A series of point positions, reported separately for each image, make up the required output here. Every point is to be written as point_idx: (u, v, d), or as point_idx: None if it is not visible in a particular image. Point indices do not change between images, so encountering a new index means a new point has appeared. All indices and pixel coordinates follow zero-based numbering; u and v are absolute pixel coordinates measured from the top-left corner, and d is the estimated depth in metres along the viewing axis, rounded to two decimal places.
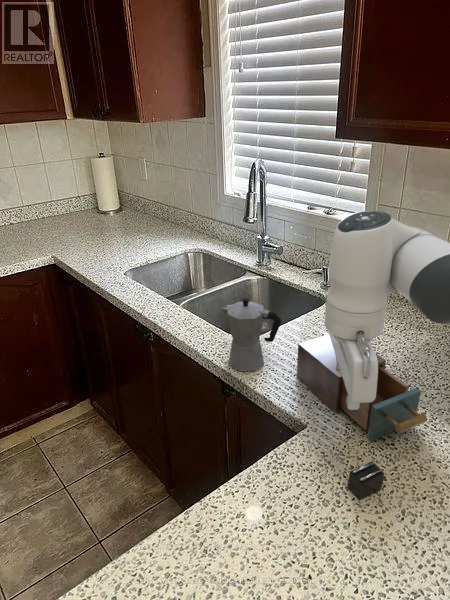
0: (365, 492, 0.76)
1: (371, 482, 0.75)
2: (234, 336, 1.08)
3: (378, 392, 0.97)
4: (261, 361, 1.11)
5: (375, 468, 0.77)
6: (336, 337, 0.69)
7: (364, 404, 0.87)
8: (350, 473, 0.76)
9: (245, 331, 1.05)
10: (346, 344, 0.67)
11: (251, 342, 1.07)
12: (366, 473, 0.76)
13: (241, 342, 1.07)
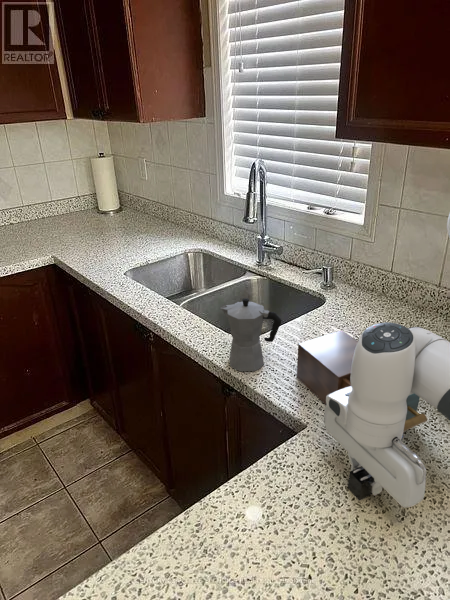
0: (366, 492, 0.76)
1: None
2: (234, 336, 1.08)
3: None
4: (261, 361, 1.11)
5: None
6: (365, 445, 0.70)
7: None
8: (350, 473, 0.76)
9: (245, 331, 1.05)
10: (383, 452, 0.68)
11: (251, 342, 1.07)
12: (366, 473, 0.76)
13: (241, 342, 1.07)
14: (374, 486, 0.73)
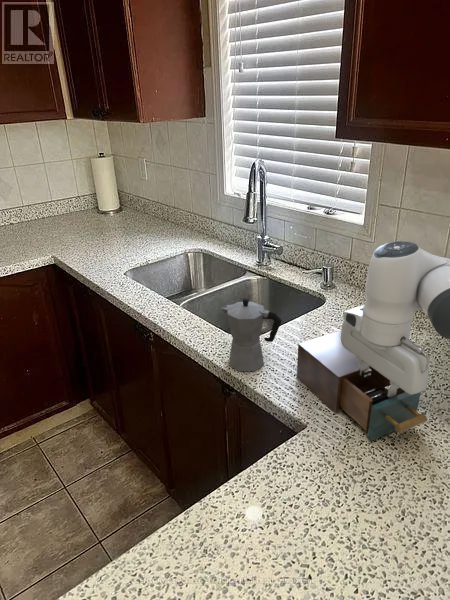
0: None
1: (379, 401, 0.90)
2: (234, 336, 1.08)
3: None
4: (261, 361, 1.11)
5: (382, 391, 0.92)
6: (378, 346, 0.83)
7: (364, 404, 0.87)
8: None
9: (245, 331, 1.05)
10: (392, 350, 0.81)
11: (251, 342, 1.07)
12: (375, 394, 0.91)
13: (241, 342, 1.07)
14: (390, 389, 0.86)
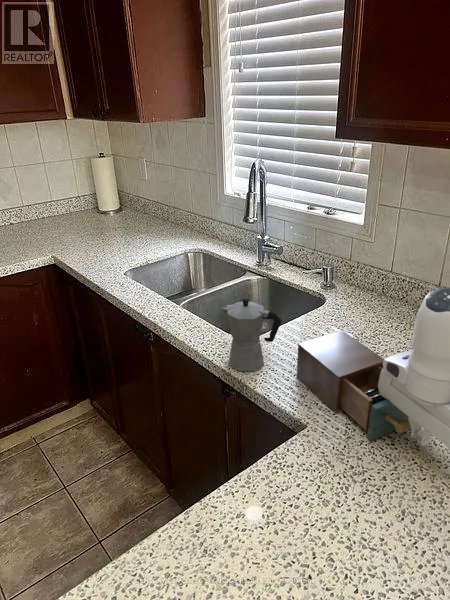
0: None
1: (379, 400, 0.90)
2: (234, 336, 1.08)
3: None
4: (261, 361, 1.11)
5: None
6: (425, 402, 0.75)
7: (364, 404, 0.87)
8: None
9: (245, 331, 1.05)
10: (443, 408, 0.73)
11: (251, 342, 1.07)
12: (374, 394, 0.91)
13: (241, 342, 1.07)
14: (423, 437, 0.80)
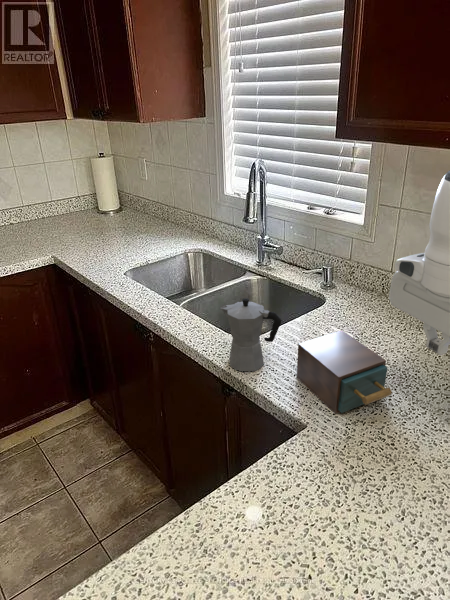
0: None
1: None
2: (234, 336, 1.08)
3: None
4: (261, 361, 1.11)
5: None
6: (443, 298, 0.67)
7: None
8: None
9: (245, 331, 1.05)
10: None
11: (251, 342, 1.07)
12: None
13: (241, 342, 1.07)
14: (441, 344, 0.72)
